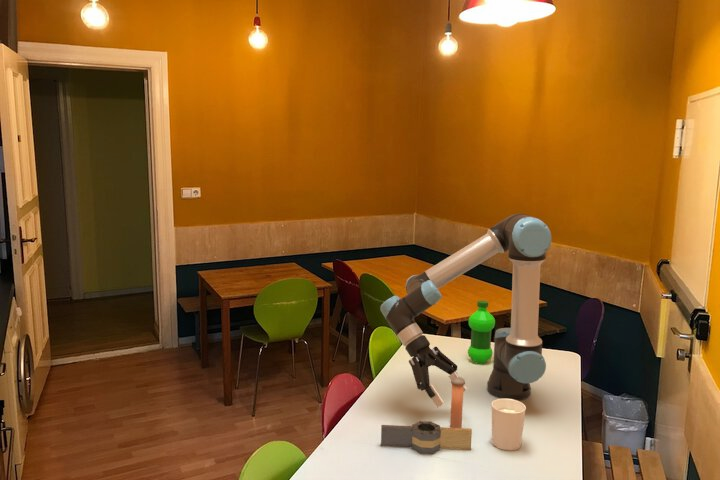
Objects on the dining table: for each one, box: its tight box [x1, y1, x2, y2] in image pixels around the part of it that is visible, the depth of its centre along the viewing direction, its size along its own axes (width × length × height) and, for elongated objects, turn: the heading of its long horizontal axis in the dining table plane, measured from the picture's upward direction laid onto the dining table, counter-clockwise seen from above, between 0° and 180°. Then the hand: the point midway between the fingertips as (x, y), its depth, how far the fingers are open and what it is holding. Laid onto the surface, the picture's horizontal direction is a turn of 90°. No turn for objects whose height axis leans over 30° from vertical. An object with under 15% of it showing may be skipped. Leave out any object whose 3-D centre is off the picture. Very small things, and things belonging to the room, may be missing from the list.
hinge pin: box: [449, 376, 466, 428], centre depth 182 cm, size 4×4×16 cm
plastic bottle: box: [467, 300, 496, 365], centre depth 238 cm, size 10×10×25 cm
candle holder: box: [491, 398, 527, 451], centre depth 173 cm, size 10×10×12 cm
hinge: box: [380, 420, 473, 455], centre depth 171 cm, size 26×8×6 cm, turn 87°
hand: (452, 398), depth 182 cm, fingers open, 13 cm apart
